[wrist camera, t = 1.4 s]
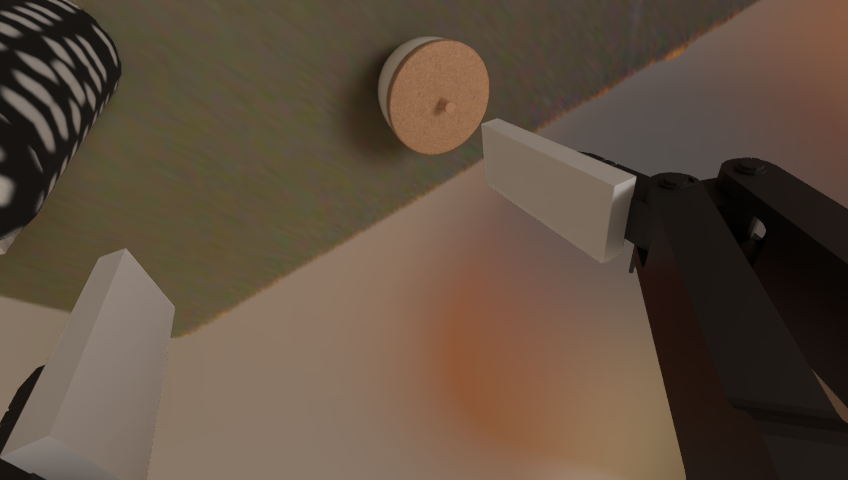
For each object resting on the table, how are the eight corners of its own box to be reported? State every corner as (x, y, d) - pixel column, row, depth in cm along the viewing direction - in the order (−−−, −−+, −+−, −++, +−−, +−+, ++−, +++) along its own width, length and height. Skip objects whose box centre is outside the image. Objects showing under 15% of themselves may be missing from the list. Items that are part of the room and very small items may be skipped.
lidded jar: (398, 2, 36) (440, 15, 29) (470, 62, 43) (518, 84, 36) (346, 101, 40) (374, 133, 33) (421, 143, 46) (457, 176, 40)
